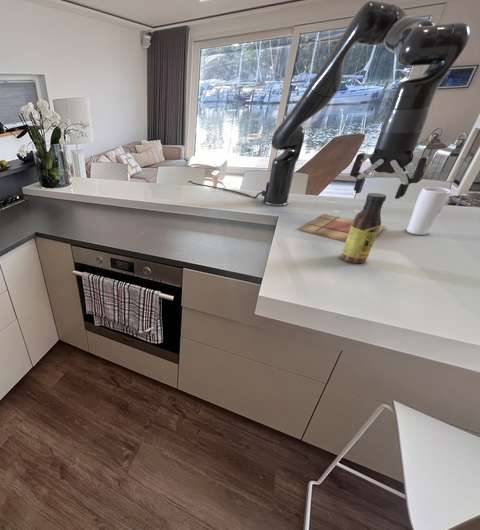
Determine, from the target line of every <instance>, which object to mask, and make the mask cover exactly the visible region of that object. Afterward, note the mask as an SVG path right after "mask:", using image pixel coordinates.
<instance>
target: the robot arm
mask: <svg viewBox="0 0 480 530" xmlns="http://www.w3.org/2000/svg"><path fill="white" fill-rule="evenodd" d="M343 31H344V32H343V33H342V35H341V37H340V38H339V40H338V41H337V43H336V45H335V46H334V48H333V50H332V52H331V53H330V54H329V56H328V57H327V59H326V61H325V62H324V64H323V65H322V67H321V68H320V69H319V70H318V72H317V73H316V75H315V76H314V78H313V79H312V80H311V82H310V83H309V85H308V86H307V87H306V89H305V90H304V92H303V94H302V95H301V97H300V98H299V99H298V101H297V103H296V104H295V105H294V107H292V109H291V110H290V112H289V114H288V115H287V116H286V117H285V118H284V119H283V120H282V122H281V123H280V124H279V126H278V127H277V128H276V130H275V131H274V133H273V134H272V137H271V147H272V148H273V149H274V150H276V151H282V153H280V155H278V156H276V157H274V158H273V159H272V163H271V168H270V173H269V178H268V181H267V182H266V185H265V189H263V190H261V192H260V191H259V192H258V193H257V194H256V195H255V196H251V195H249V194H247V193H244V192H241V191H237V190H233V189H232V190H231V189H229V190H228V188H223V187H217V186H212V185H209V184H208V185H207V184H202V183H197V182H194V181H192V180H188V181H187V184H188V183H190V184H191V185H192V184H193V185H195V186H196V185H197V186H202V187H206V188H211V189H217V190H222V189H223V190H222V191H227V192H231V193H235V194H239V195H242V196H245V197H248V198H251V199H257V198H258V196H259V195H260V196H261V197H263V201H262V202H263V203H264V204H265V205H268V206H274V207H283V206H286V205H288V201H289V199H290V197H289V196H290V192H291V188H292V182H293V177H294V172H295V168H296V165H297V162H298V160H299V158H300V156H301V151H302V147H303V144H304V141H305V128H304V127H303V126H302V124H304V123H305V122H306V121H308V120H309V119H311V118H312V117H313V116H315V115H316V114H318V113H319V112H321V111H322V110H323V109H324V108H325V107H326V106H327V105H328V104H329V103H330V102H331V101H332V99H333V98H334V97H335V95H336V94H337V93H338V91H339V90H340V88H341V86H342V84H343V83H342V82H343V77H344V76H343V75H344V65H345V60H346V57H347V55H348V53H349V51H350V49H351V48H352V47H353V45H355V44H359V45H360V44H361V45H365V46H384V48H385V49H386V50H387V51H388V52H390V53H392V54H394V55H395V56H396V61H397V64H398V65H400V66H402V67H407V68H408V67H411V68H412V67H421V66H427V68H426V69H425V70H424V71H423V73H422V74H421V75H419V76H417V77H414V78H410V79H406V80H403V81H401V82H400V83H399V84H398V85H397V87H396V88H395V91H394V95H393V97H392V100H391V103H390V106H389V108H388V112H387V114H386V116H385V118H384V120H383V123H382V125H381V127H380V132H379V135H378V137H377V140H376V142H375V143H376V144H375V147H374V149H373V152H372V153H365V152H359V153H358V154H357V155H356V157H355V160H354V162H353V165H352V168H351V170H350V173H349V176H350V177H354V178H355V179H356V181H355V184H354V186H353V187H354V188H353V191H354V192H355V194H360V193H362V191H363V187H364V184H365V181H366V177H367V176H368V175H370V174H371V173H373V172H374V171H375V172H376V173H386V174H392V175H393V174H395V175H396V177H397V178H399V180H400V184H399V186H398V189H397V191H396V194H395V196H394V199H395V200H399V199H401V198H403V197H404V196H405V195H406V193H407V190H408V188H409V186H410V184H418V183H420V182H421V181H422V179H423V177H424V174H425V171H426V168H427V166H428V163H429V160H430V156H429V155H424V156H414V151H415V149H416V148H417V147H416V146H417V144H418V142H419V139H420V137H421V134H422V131H423V129H424V127H425V125H426V122H427V119H428V116H429V111H430V108H431V106H432V103H433V101H434V99H435V95H436V93H437V91H438V88H439V87H440V85H441V83H442V82H443V81H444V79H445V77H446V76H447V74H448V73H449V72H450V70H451V69H452V67H453V66H454V64H455V63H456V62H457V60H458V59H459V58H460V56H461V55H462V54H463V52H464V51H465V49H466V47H467V45H468V43H469V41H470V38H471V27H470V26H469V24H468V23H466V22H463V21H462V22H461V21H458V22H450V23H444V24H443V23H441V24H435V23H434V22H433V21H432V20H430V19H427V18H425V17H420V16H416V15H409V14H407V12H406V11H405V10H404V9H403V8H402V7H401V6H400V5H397V4H395V3H389V2H384V1H379V0H368V1H365V2H364V3H363V4H362V5H361V7H360V8H359V9H357V11H356V13H355V14H354V15H353V17H352V19H351V20H350V22H349V23H348V25H347V27H346V28H345V30H343ZM367 160H369V162H370V164H371V165H370V166H369V167H367V168H366V169H365V170H364V171H362V172H361V167H362V166H363V163H365V162H366V161H367ZM411 163H413V166H415V167H416V169H415V172H414V175H413V177H411V176H410V175H409V171H408V168H407V167H406V166H408V165H409V164H411Z"/></svg>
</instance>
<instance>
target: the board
mask: <svg viewBox="0 0 480 530" xmlns="http://www.w3.org/2000/svg"><path fill="white" fill-rule="evenodd" d="M353 221H354V219H352V218H347V217H341V216H337V215H331V214H328V213H327V214H326V213H323V214H321V215H320V216H317V217H316V218H314V219H313V220H311V221H309V222H307V223H306V224H304V225H302V226H300V227H299V230H300V231H303V232H307V233H311V234H314V235H319V236H322V237H327V238H331V239H335V240H338V241H343V242H346V239H347V237H348V234H349V231H350V228H351V225H352V224H353ZM385 228H386V226H385V225H381V226H380V228H379V230H378V233H377V235H376V236H378V235H379V234H380V233H381V232H383V231H384V230H385Z"/></svg>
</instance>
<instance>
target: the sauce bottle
mask: <svg viewBox="0 0 480 530" xmlns="http://www.w3.org/2000/svg"><path fill="white" fill-rule="evenodd" d="M386 200H387V195H386V194H383V193H378V192H370V193H367V195H366V198H365V203H364V205H363V207H362V210H361V211H360V212H358V213H357V214H356V215H355V217H354V218H353V220H354V221H353V224H352V225H351V228H350V231H349V234H348V237H347V239H346V241H344V242H345V243H344V246H343V248H342V251H341V252H342V253H341V259H342V260H344V261H345V262H348V263H351V264H362V263H365V262H366V260H367V259H368V257H369V256H370V252H371V250H372V248H373V245H374V243H375V240H376V239H377V236H378V235H377V233H378V230H379V228H380V226H382V220H381V219H382V217H381V211H382V207H383V205H384V202H385V201H386Z"/></svg>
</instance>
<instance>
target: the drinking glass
mask: <svg viewBox="0 0 480 530" xmlns="http://www.w3.org/2000/svg"><path fill="white" fill-rule="evenodd" d="M451 193H452V190H451V189H449V188H445V187H439V186H438V187H437V186H425V187H423V188H421V190H420V192H419V194H418V197H417V198H416V202H415V205H414V208H413V211H412V214H411V217H410V220H409V222H408V225H407V228H406V231H407V232H408V233H410V234H412V235H415V236H416V235H417V236H425V235H427V234H428V233H429V231H430V230H431V227H432V226H433V224H434V223H435V221H436V220H437V219H438V216H439V215H440V213H441V212H442V211H443V209H444V207H445V206H446V204H447V202H448V200H449V198H450V196H451Z"/></svg>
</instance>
